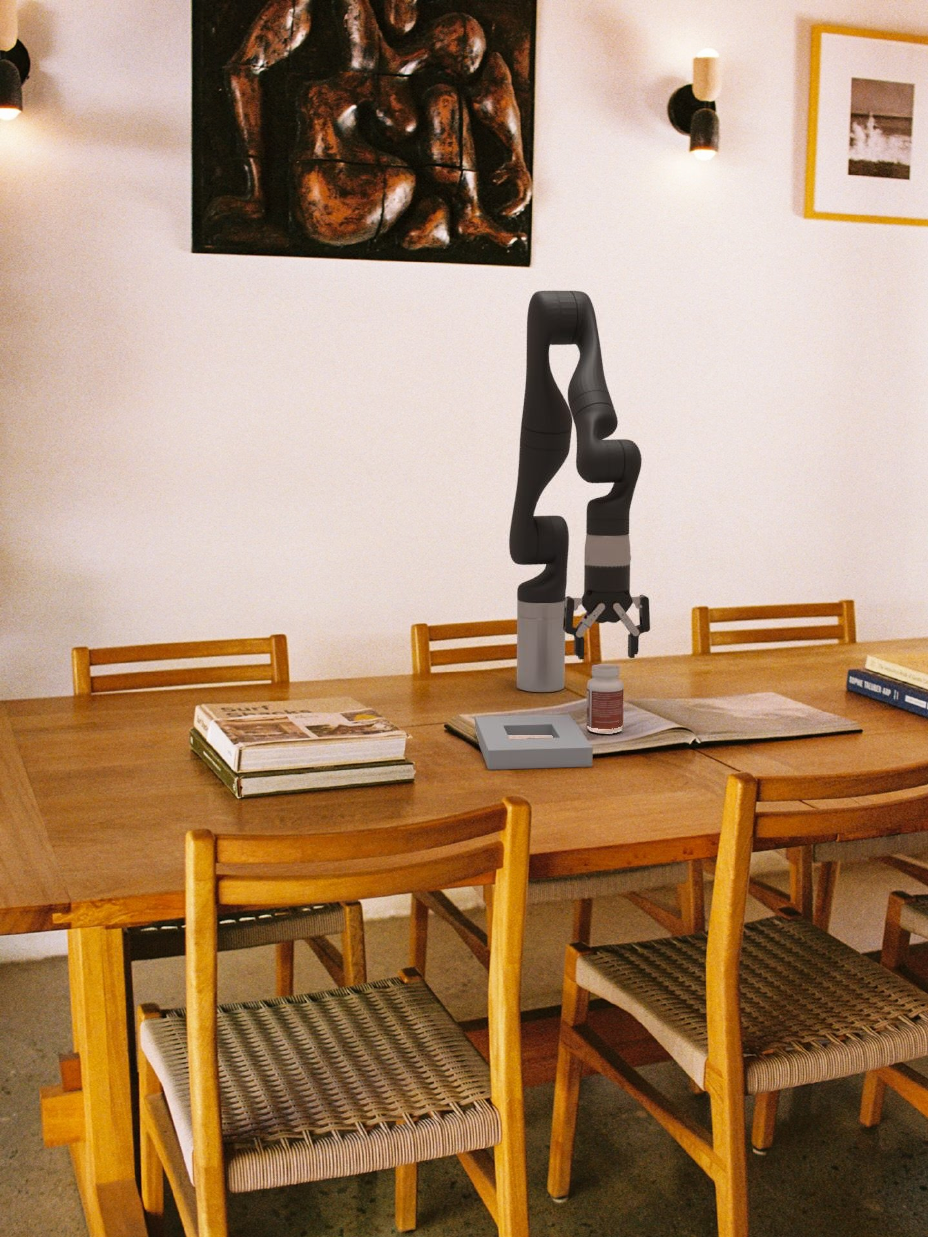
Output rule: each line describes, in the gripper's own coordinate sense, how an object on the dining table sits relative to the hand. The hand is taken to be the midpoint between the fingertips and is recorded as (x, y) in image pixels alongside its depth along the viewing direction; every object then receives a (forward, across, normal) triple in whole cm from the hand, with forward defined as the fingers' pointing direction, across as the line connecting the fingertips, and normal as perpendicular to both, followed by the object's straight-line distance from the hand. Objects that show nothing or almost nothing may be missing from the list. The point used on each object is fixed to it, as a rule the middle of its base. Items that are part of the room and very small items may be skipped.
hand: (605, 657), depth 209 cm
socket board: (+13, +14, +10) cm, 21 cm away
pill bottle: (+13, 0, 0) cm, 13 cm away
